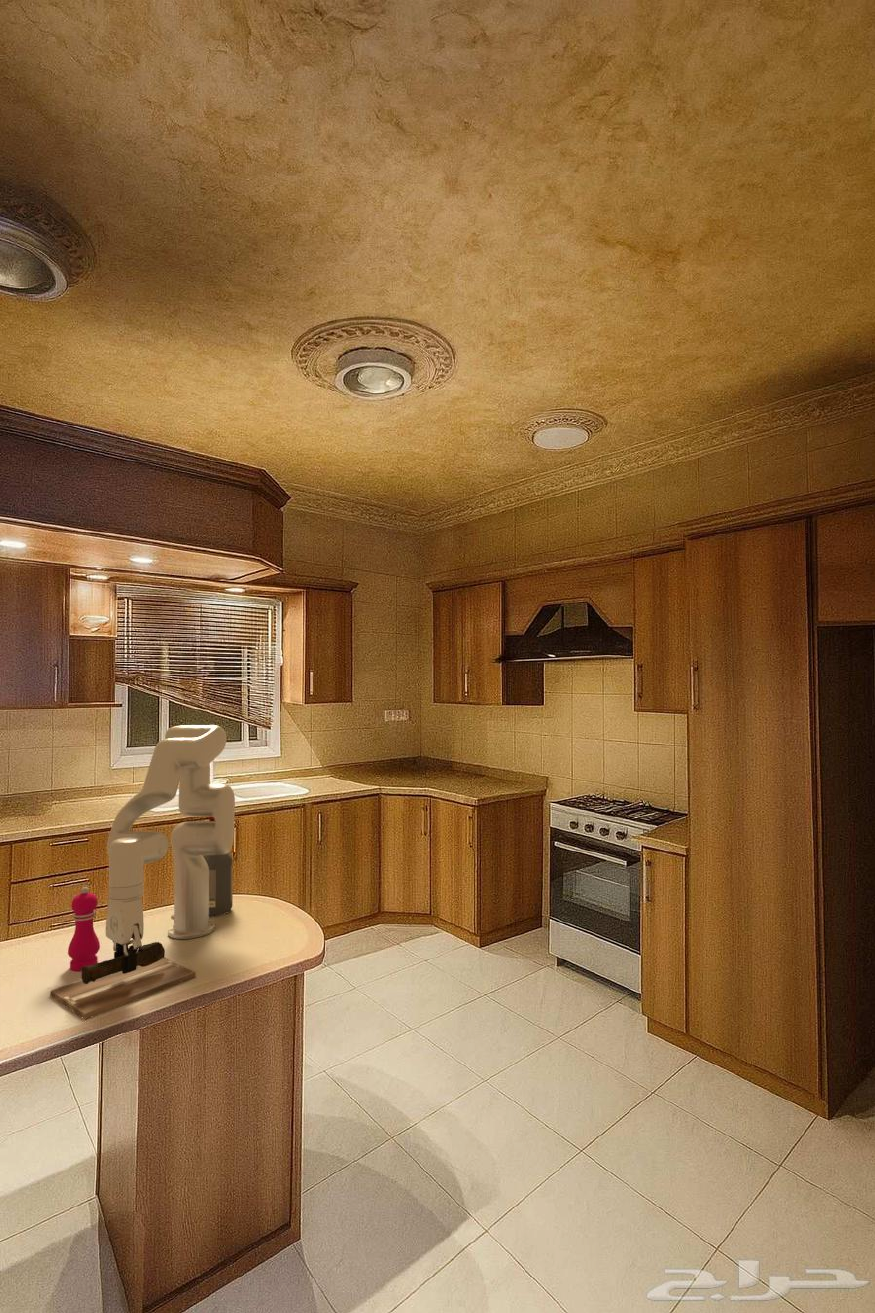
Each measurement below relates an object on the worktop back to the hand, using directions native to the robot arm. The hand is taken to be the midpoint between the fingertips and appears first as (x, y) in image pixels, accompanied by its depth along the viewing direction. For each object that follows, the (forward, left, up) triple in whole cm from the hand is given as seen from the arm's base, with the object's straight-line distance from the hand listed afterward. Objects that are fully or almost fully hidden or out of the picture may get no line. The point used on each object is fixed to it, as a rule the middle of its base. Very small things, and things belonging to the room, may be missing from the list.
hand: (125, 968), depth 157 cm
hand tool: (-1, 0, -1) cm, 1 cm away
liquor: (-30, +43, -4) cm, 53 cm away
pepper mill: (-20, -1, -4) cm, 20 cm away
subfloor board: (0, 0, -4) cm, 4 cm away
